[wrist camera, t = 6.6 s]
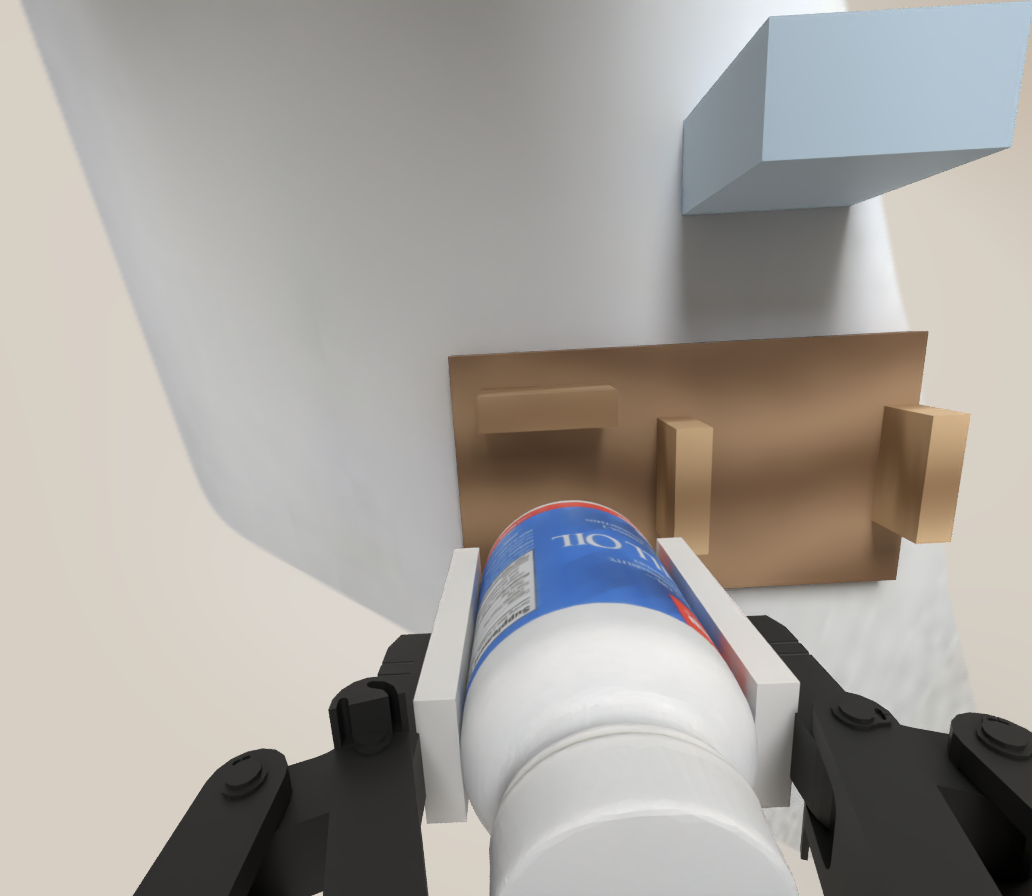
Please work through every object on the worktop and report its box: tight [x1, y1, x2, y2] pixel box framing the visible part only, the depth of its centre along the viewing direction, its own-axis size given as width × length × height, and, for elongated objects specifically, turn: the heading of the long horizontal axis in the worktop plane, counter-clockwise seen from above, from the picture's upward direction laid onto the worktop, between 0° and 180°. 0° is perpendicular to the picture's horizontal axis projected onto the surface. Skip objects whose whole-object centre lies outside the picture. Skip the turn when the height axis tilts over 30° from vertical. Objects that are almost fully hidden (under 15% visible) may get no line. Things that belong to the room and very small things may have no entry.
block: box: [682, 1, 1032, 215], centre depth 20 cm, size 4×8×8 cm, turn 93°
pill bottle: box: [460, 500, 799, 896], centre depth 11 cm, size 6×5×10 cm
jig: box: [448, 331, 970, 588], centre depth 25 cm, size 13×23×4 cm, turn 93°
